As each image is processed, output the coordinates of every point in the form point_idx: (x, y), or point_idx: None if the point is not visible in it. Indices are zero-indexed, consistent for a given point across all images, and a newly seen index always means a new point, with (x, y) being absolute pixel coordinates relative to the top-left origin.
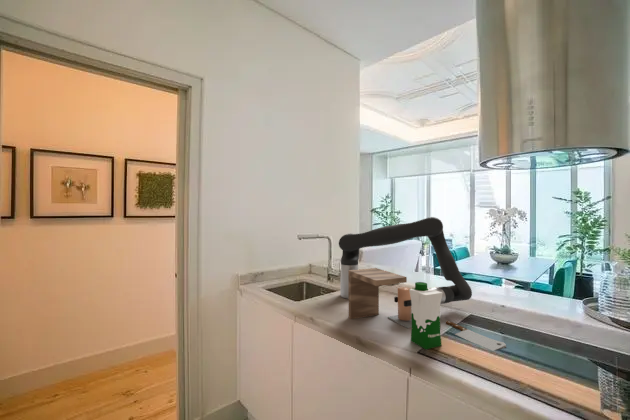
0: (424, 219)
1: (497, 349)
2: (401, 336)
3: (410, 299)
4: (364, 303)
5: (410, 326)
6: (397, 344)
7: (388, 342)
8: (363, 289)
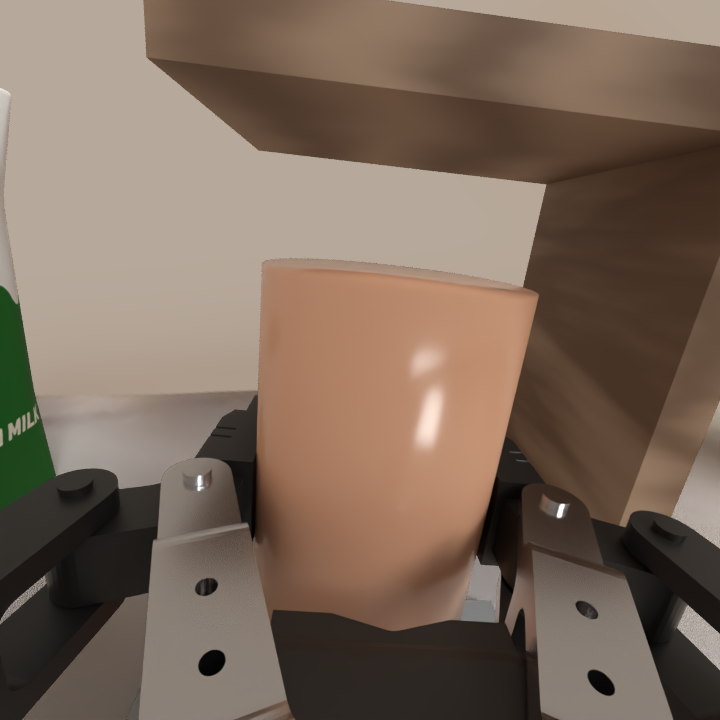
0: None
1: None
2: (143, 478)
3: (256, 449)
4: (548, 407)
5: None
6: (113, 424)
7: (163, 415)
8: (571, 299)
